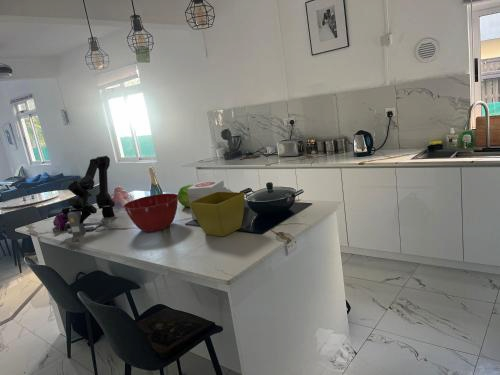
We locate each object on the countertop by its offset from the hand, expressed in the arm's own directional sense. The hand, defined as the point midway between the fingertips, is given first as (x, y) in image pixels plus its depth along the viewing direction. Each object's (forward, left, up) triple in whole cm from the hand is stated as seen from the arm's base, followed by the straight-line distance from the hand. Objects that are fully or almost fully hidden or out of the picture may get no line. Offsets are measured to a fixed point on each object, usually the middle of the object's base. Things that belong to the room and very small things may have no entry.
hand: (75, 224), depth 206 cm
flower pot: (-68, +56, -7) cm, 88 cm away
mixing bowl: (-41, +23, -7) cm, 47 cm away
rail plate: (-3, -11, -7) cm, 13 cm away
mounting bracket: (+10, -29, -7) cm, 31 cm away
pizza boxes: (-75, +24, -7) cm, 79 cm away
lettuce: (-68, -2, -7) cm, 68 cm away
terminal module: (0, -1, -7) cm, 7 cm away
